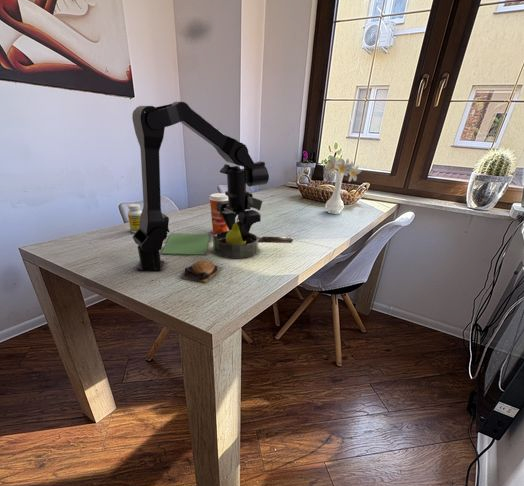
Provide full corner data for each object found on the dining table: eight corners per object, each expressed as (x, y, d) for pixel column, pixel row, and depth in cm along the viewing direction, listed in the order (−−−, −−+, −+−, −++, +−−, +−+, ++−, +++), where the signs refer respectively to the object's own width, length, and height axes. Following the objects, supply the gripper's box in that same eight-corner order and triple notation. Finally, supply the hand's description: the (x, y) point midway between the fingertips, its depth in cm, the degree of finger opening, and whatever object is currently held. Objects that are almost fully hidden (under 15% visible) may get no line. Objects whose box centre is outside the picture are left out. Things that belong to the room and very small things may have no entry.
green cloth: (205, 255, 101) (205, 254, 101) (161, 254, 100) (161, 253, 100) (209, 235, 118) (209, 234, 118) (171, 234, 117) (171, 233, 116)
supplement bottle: (143, 228, 121) (139, 202, 116) (147, 232, 117) (143, 206, 112) (129, 230, 118) (124, 204, 113) (132, 234, 115) (128, 207, 110)
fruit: (221, 247, 106) (222, 211, 100) (237, 245, 110) (239, 210, 104) (233, 253, 102) (234, 216, 96) (249, 250, 106) (251, 214, 100)
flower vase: (342, 218, 149) (354, 161, 136) (312, 210, 160) (320, 156, 147) (357, 214, 157) (369, 160, 144) (327, 207, 168) (336, 155, 155)
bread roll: (197, 264, 95) (196, 253, 93) (222, 269, 93) (222, 257, 91) (178, 278, 86) (177, 265, 84) (205, 283, 84) (205, 271, 82)
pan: (259, 259, 101) (259, 246, 98) (212, 258, 99) (211, 244, 97) (256, 243, 113) (257, 231, 111) (214, 242, 112) (214, 230, 110)
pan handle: (256, 243, 104) (256, 237, 103) (255, 241, 106) (255, 235, 105) (293, 244, 106) (293, 238, 105) (292, 242, 107) (292, 236, 106)
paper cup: (206, 233, 120) (204, 195, 113) (217, 228, 126) (216, 192, 118) (223, 237, 117) (222, 198, 110) (233, 232, 123) (234, 195, 116)
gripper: (275, 190, 93) (274, 241, 102) (243, 180, 106) (244, 226, 114) (243, 195, 88) (245, 248, 96) (214, 184, 100) (217, 231, 109)
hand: (238, 237), depth 104 cm, fingers closed on fruit, 7 cm apart
